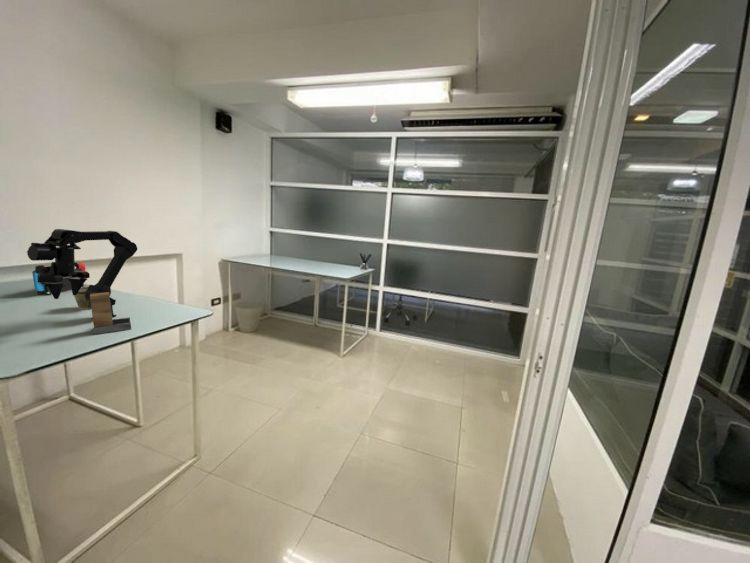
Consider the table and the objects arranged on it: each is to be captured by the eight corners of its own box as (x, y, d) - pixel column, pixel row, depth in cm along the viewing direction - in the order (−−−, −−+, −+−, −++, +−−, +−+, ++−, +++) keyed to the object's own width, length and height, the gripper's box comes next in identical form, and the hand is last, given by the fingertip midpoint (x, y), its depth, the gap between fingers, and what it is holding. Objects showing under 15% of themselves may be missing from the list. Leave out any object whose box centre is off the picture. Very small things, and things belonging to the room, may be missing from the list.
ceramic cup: (71, 308, 154) (68, 288, 152) (96, 303, 162) (93, 285, 160) (83, 313, 148) (80, 293, 146) (108, 308, 157) (106, 289, 155)
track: (94, 334, 127) (93, 328, 126) (94, 327, 133) (94, 321, 133) (131, 329, 134) (130, 323, 134) (130, 323, 141) (129, 317, 140)
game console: (40, 297, 167) (36, 270, 164) (29, 296, 167) (24, 269, 164) (90, 285, 194) (87, 262, 191) (80, 285, 194) (77, 262, 191)
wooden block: (94, 327, 131) (90, 293, 128) (112, 325, 135) (109, 292, 132) (94, 330, 128) (89, 296, 125) (113, 328, 132) (109, 294, 129)
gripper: (61, 257, 136) (62, 292, 137) (20, 259, 117) (21, 299, 119) (90, 259, 137) (90, 293, 139) (54, 262, 119) (55, 301, 121)
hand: (65, 296), depth 130 cm, fingers open, 9 cm apart
